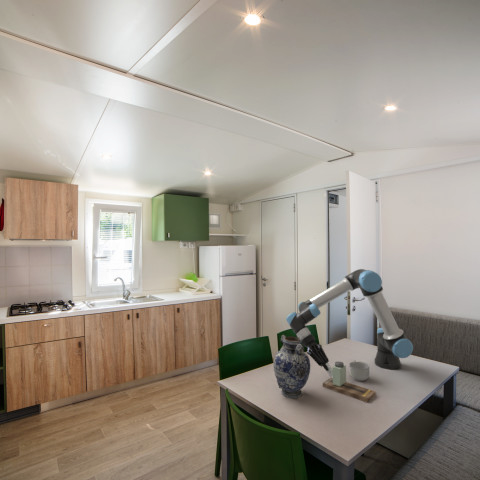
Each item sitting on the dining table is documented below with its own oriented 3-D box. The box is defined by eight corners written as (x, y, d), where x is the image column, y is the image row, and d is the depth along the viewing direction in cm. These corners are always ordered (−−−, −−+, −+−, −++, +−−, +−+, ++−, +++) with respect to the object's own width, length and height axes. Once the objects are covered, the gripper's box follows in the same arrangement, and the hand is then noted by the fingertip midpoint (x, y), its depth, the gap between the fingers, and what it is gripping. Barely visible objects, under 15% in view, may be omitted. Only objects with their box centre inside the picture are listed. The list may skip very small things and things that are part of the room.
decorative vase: (265, 386, 167) (266, 334, 167) (296, 382, 174) (297, 331, 174) (285, 406, 147) (286, 346, 147) (319, 400, 154) (319, 342, 154)
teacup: (371, 383, 171) (371, 369, 171) (350, 382, 173) (350, 367, 174) (366, 373, 185) (366, 359, 185) (347, 371, 187) (346, 358, 187)
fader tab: (332, 384, 165) (332, 363, 165) (338, 379, 170) (338, 360, 170) (340, 386, 162) (340, 366, 162) (346, 382, 167) (346, 362, 167)
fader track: (322, 386, 167) (322, 382, 167) (331, 380, 175) (331, 377, 175) (367, 402, 151) (367, 398, 151) (375, 395, 158) (375, 391, 158)
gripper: (308, 338, 186) (334, 375, 175) (295, 343, 177) (322, 382, 165) (316, 331, 183) (343, 368, 171) (303, 336, 173) (331, 375, 161)
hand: (332, 375), depth 168 cm, fingers closed
